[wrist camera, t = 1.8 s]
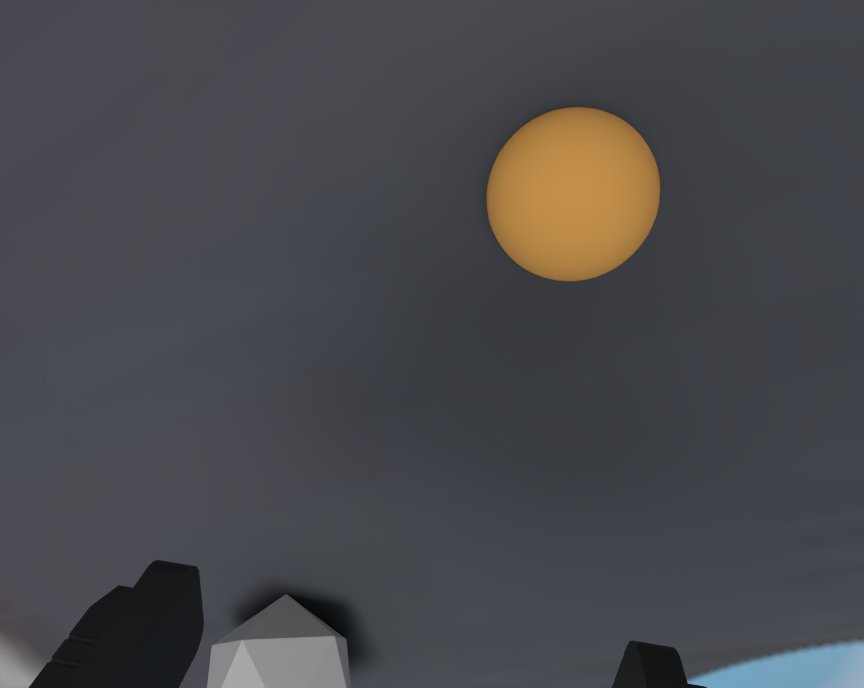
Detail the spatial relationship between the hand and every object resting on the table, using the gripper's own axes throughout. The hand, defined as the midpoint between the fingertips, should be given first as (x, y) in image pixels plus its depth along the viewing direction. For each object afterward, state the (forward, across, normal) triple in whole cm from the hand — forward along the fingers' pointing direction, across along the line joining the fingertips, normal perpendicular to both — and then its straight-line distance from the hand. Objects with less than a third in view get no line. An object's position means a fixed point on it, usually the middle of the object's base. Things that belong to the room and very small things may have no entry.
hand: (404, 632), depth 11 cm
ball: (+14, -3, -6) cm, 16 cm away
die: (+18, +8, +24) cm, 32 cm away
